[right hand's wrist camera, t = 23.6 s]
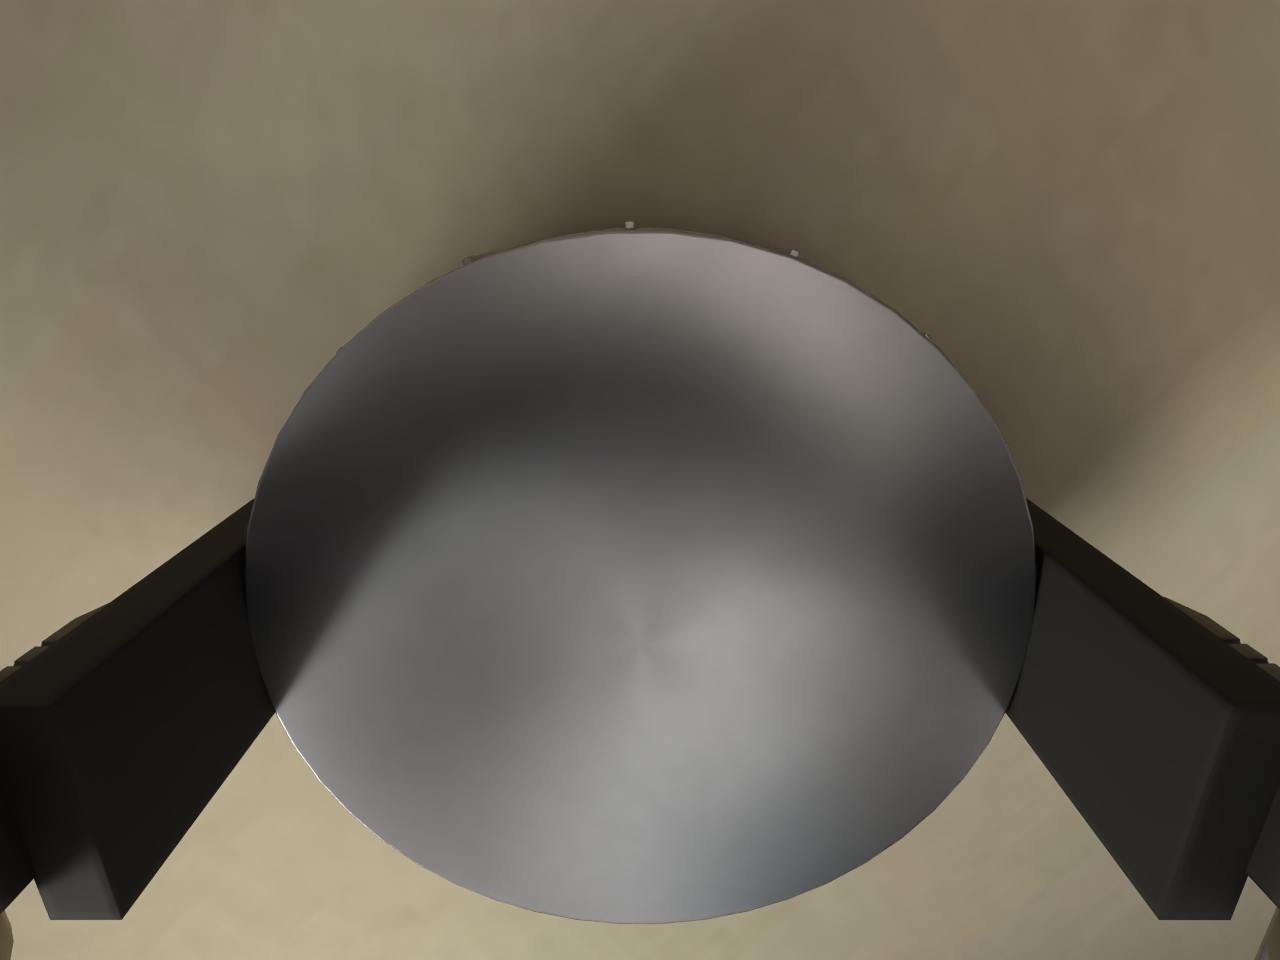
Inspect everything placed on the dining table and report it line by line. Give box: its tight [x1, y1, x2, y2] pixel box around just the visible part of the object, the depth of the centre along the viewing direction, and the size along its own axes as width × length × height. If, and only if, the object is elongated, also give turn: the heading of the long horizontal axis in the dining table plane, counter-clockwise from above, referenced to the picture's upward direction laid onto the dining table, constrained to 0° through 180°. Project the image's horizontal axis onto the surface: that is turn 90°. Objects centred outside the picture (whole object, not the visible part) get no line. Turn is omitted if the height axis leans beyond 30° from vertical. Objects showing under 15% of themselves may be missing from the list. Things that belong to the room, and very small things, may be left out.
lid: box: [244, 221, 1037, 924], centre depth 11 cm, size 11×11×2 cm
